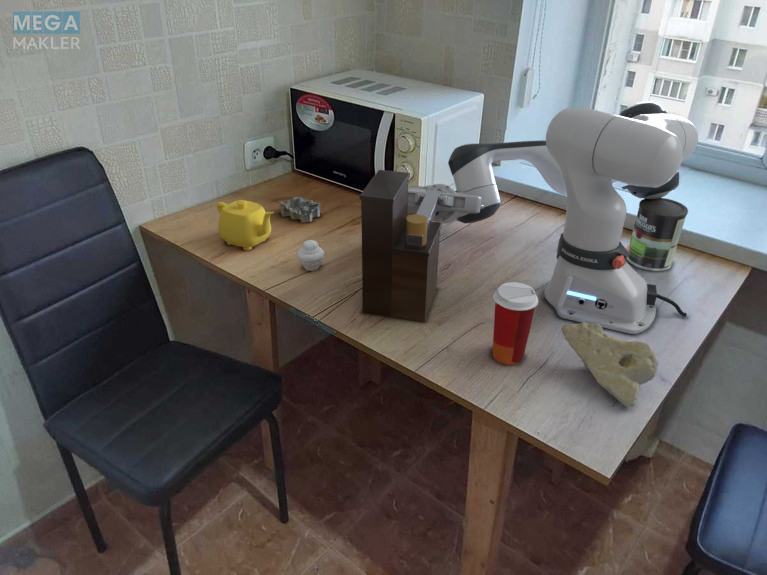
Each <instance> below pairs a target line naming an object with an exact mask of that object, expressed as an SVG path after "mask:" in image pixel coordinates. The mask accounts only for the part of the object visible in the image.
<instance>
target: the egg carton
mask: <svg viewBox="0 0 767 575" xmlns="http://www.w3.org/2000/svg"><path fill="white" fill-rule="evenodd" d="M322 203H323V202H315V201H313V199H306V198H304V197H302V196H295V197H292V198H289V200H288V199H286V200H285V203H284V202H283V201H279V200H277V204H279V206H280V215H281V217H290V219H291V220H300V223H303V224H304V223H311V222H313V218H319V217H321V208H320V207H321V205H322Z"/></svg>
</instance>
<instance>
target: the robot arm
mask: <svg viewBox="0 0 767 575" xmlns="http://www.w3.org/2000/svg"><path fill="white" fill-rule="evenodd" d="M698 142H699V133H698V130H697V127H696V126H695V125H694V124H693V123H692V122H691V121H690V120H688V119H687V118H685V117H682V116H679V115H675V114H669V112H668V111H667V110H666V109H664V108H663V106H662V105H661V104H660V103H658V102H656V101H640V102H636V103H634V104H632V105H630V106H628V107H627V108H625V109H624V110H622V111H621V112H619V114H618V115H617V114H613V113H610V112H605V111H602V110H597V109H594V108H587V107H586V108H585V107H584V108H583V107H567V108H563V109H561V110H560V111H559V112H558V113H556V114H555V115H554V117H553V118H552V119H551V121H550V122H549V124H548V126H547V129H546V133H545V140H541V139H540V140H521V141H509V142H507V141H506V142H493V143H492V142H491V143H473V142H472V143H470V142H469V143H465V144H461V145H459V146H457V147H455V148H453V151H452V152H451V154H450V156H449V159H448V162H447V164H448V168H449V171H450V173H451V177H452V178H453V182H454V185H455V186H454V187H455V190H454V188H452V187H451V186H449V185H447V184H444V183H434V184H428V185H424V186H423V185H422V186H421V185H419V186H416V185H415V186H414V185H413V186H412V185H410V186H409V185H408V209H407V215H408V216H409V215H413V214H417V211H418V209H419V207H420V205H421V203H422V201H423V199H424V197H425V194H426V192H427V190H438V191H441V195H440V196H439V199H440V200H439V207H438V209H437V212H436V214H435V217H434V219H433V221H432V222H440V223H442V225H443V224H451V223H453V222H456V221H458V222H460V223H462V224H472V223H477V222H480V221H483V220H487V219H489V218H491V217H493V216H494V215H495V214H496V212H498V210H499V209H500V207H501V204H502V201H501V198H500V192H499V189H498V185H497V181H496V178H495V174H494V170H493V163H494V162H503V161H517V160H519V161H520V160H522V161H525V162H528V163H530V164H531V165H533V166H534V168H535V169H536V170H537V171H538V173H539V174H540V176H541V177H542V179H543V180H544V182H546V184H547V185H548V186H549V187H550V188H551V189H552V190H553V191H554V192H556V193H557V194H560V195H562V196H566V211H565V219H564V226H563V232H562V233H560V236H559V239H558V244H557V248H556V262H555V266H554V268H553V272H552V275H551V277H550V279H549V281H548V284H547V285H546V287H545V288H544V290H543V291H544V297H545V299H546V301H547V303H549V304H550V306H552V307H553V308H554V309H555V311H556V313H557V315H558V316H559V318H561V319H564V320H568V321H573V322H577V323H580V324H581V323H582V322H585V323H589V324H594V323H597V324H603V325H600V326H601V327H602V329H603V328H604V329H608V330H612V331H617V332H621V333H625V334H629V335H637V334H641V333H643V332H645V331H646V330H647V329H649V328H650V326H651V325H652V324H653V322H654V321H655V318H656V314H657V306H656V301H657V299H659V300H661V301H664V302H666V303H667V304H670V305H671V306H673V307H674V308H675V310H676V311H677V313H678V314H679V315H680V316H681V317H684V318H686V317H687V312H684V311H683V310H682V309H681V307H680V305H679V304H678V303H676V302H675V301H674V300H673V299H670V298H668V297H666V296H665V295H662V294H659V293H658V291H657V285H656V284H651V283H647V282H646V280H645V279H644V278H643V276H641V274H639V273H638V272H637V271H636V270H635V269H634V267H632V266H631V264H629V262H628V260H627V256H628V252H629V248H630V246H629V245H628V246H627V247H625V246H624V245H623V243H622V242H621V240H622V234H623V230H624V226H625V221H626V217H627V212H628V211H627V205H626V202H625V200H624V198H623V197H622V195H620V194H619V192H618V191H617V190H616V189H615V188H614V184H617V183H623V184H626V185H623V186H621V189H622V190H627V191H628V192H629V193H630V194H631V196H634V197H636V198H637V199H641V200H642V199H658V198H664V197H666V196H668V195H669V194H670V193H672V192H673V191H675V190H676V189H677V188H678V187H679V185H680V171H679V169H680V167H681V165H682V162H683V161H685V160H686V159H688V158H689V157H690V156H691V155H692V154H694V152H695V150H696V148H697V146H698Z"/></svg>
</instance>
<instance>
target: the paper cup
mask: <svg viewBox="0 0 767 575" xmlns="http://www.w3.org/2000/svg"><path fill="white" fill-rule="evenodd" d="M492 298H493V299H492V300H493V301H494V315H493V316H494V319H493V336H492V356H493V357H492V358H494V360H495V361H497V362H498V363H500V364H502V365H506V366H507V365H508V366H514V365H518V364H519V363H521V362H522V361H523V359H524V357H525V352H526V348H527V344H528V340H529V336H530V332H531V328H532V323H533V320H534V315H535V309H536V307H537V306H538V304H539V297H538V296H537V293H536V291H535V289H534V288H533V287H532V286H530V285H529V284H526V283H522V282H518V281H509V282H505V283H502V284H501V285H500V286H499V287H498V288H497V289H496V290H495V292H494V294H493V295H492Z"/></svg>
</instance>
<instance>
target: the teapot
mask: <svg viewBox="0 0 767 575" xmlns="http://www.w3.org/2000/svg"><path fill="white" fill-rule="evenodd" d="M216 209H217V211H218V213H219V216H218V217H219V218H218V224H217V225H218V226H217V228H218V230H217V231H218V235H219V236H220V238H221V239H222V240H223V241H224V242H226V244H227V245H228V246H237V247H242V250H244V251H250V250H252V248H253V247H255V246H257V245H259V244H261V243H262V242H263V243H264V242H265V241H266V240H267V239H268V238H269V237H270V235H271V233H272V224H271V215H272V214H273V215H274V213H275V211H267V212H266V210H265V208H264V207H263V206H262V205H261V204H260V203H257V202H254V201H251V200H245V199H238V200H234V201H233V202H231V203H226V202H223V201H218V202H216Z"/></svg>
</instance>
